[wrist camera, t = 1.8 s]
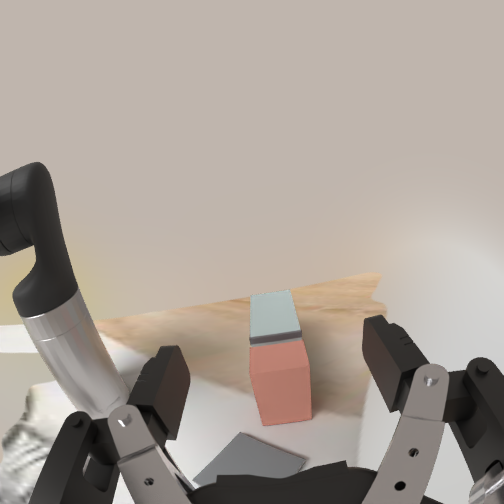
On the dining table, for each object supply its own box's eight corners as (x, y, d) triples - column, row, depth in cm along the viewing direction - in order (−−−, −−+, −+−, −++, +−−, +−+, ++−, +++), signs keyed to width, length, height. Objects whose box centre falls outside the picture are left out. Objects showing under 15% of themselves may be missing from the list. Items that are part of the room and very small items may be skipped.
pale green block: (306, 391, 30) (302, 336, 27) (261, 397, 30) (249, 343, 27) (295, 340, 40) (290, 289, 37) (259, 345, 40) (250, 295, 37)
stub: (311, 419, 25) (309, 365, 23) (262, 425, 26) (249, 374, 23) (306, 394, 29) (303, 339, 26) (262, 400, 29) (249, 347, 27)
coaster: (194, 481, 19) (192, 479, 19) (240, 434, 25) (239, 431, 25) (259, 520, 14) (258, 519, 14) (305, 461, 20) (305, 459, 20)
